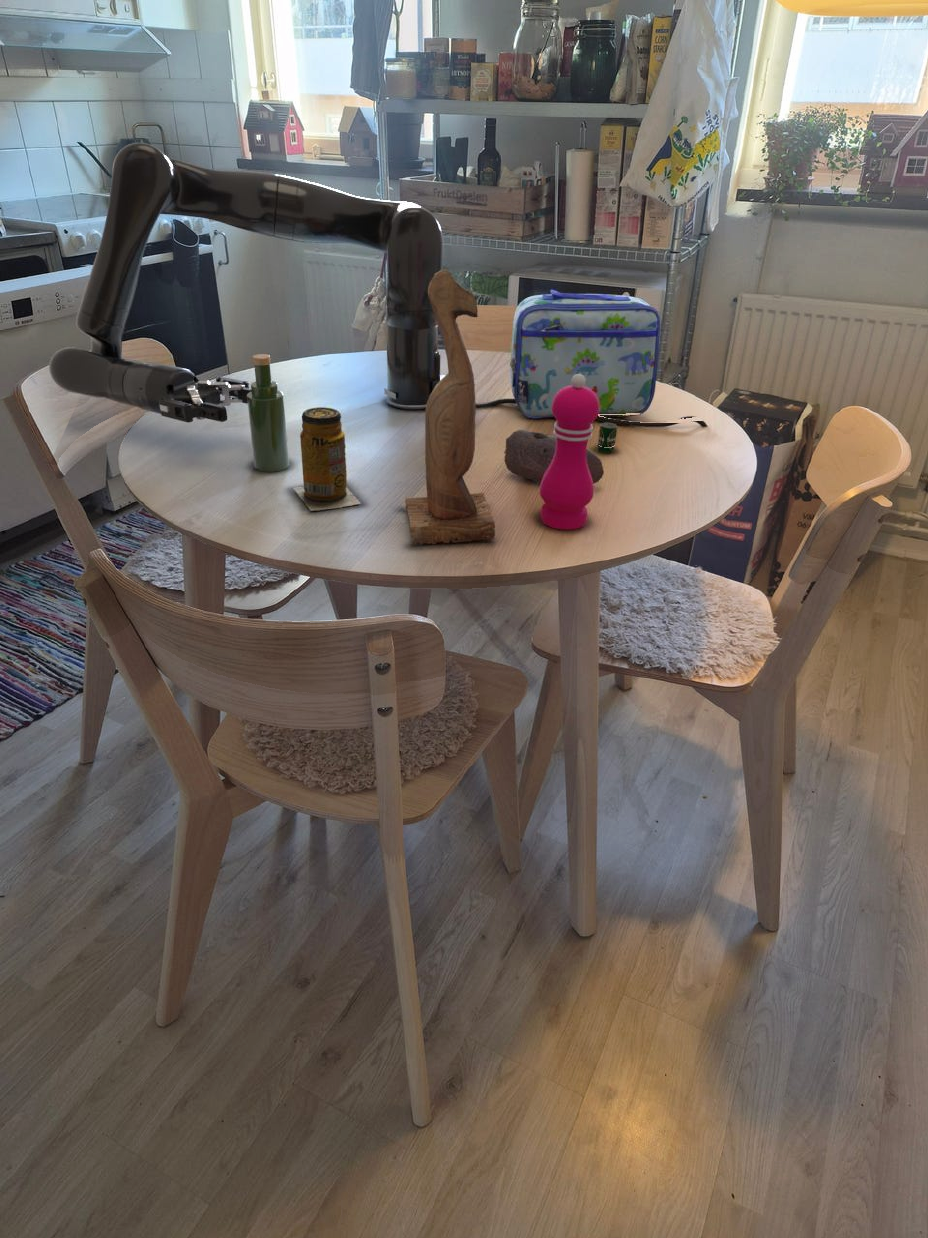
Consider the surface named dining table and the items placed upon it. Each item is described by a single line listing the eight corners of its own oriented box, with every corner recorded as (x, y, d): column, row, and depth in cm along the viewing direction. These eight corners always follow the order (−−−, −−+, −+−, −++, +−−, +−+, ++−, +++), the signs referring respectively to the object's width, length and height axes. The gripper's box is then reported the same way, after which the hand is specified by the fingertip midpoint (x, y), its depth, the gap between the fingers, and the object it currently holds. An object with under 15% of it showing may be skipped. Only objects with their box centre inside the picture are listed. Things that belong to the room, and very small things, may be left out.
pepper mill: (533, 509, 115) (545, 365, 105) (583, 508, 116) (601, 366, 105) (541, 532, 109) (555, 382, 99) (594, 531, 110) (614, 382, 99)
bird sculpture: (500, 541, 107) (517, 279, 89) (411, 547, 104) (411, 279, 87) (481, 505, 116) (493, 261, 99) (399, 510, 113) (396, 261, 96)
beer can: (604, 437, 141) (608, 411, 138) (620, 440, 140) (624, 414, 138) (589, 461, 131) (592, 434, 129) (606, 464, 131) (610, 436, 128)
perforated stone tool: (605, 484, 124) (611, 440, 120) (596, 497, 119) (602, 452, 116) (512, 466, 128) (515, 423, 125) (500, 478, 124) (503, 434, 121)
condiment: (341, 482, 121) (337, 402, 115) (361, 504, 115) (358, 421, 108) (293, 489, 118) (286, 407, 112) (310, 512, 112) (304, 427, 105)
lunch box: (508, 420, 147) (516, 297, 135) (504, 401, 156) (511, 284, 144) (652, 424, 148) (672, 302, 136) (640, 405, 157) (657, 289, 145)
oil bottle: (288, 458, 128) (278, 350, 119) (290, 470, 124) (281, 360, 115) (254, 460, 127) (242, 351, 118) (255, 472, 123) (242, 361, 114)
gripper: (122, 376, 121) (208, 394, 115) (189, 354, 132) (271, 369, 126) (131, 425, 125) (215, 445, 119) (196, 400, 136) (276, 417, 130)
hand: (244, 406), depth 122 cm, fingers open, 8 cm apart
